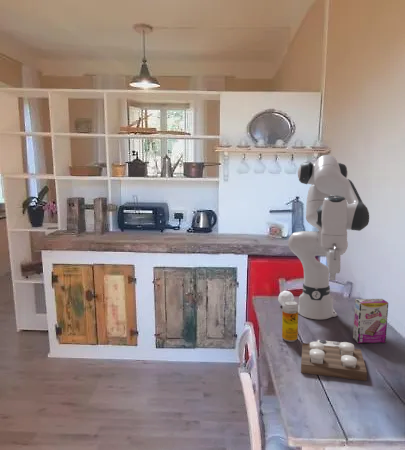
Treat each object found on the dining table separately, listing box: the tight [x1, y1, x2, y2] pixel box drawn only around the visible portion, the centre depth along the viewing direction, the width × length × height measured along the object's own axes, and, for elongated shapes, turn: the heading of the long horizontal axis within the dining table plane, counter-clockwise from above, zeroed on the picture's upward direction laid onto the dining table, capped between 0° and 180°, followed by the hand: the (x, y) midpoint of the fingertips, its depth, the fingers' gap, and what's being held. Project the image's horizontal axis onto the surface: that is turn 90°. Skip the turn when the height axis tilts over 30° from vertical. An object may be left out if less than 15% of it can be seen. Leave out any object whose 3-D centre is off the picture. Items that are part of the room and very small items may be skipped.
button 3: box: [310, 349, 325, 364], centre depth 125 cm, size 5×5×4 cm
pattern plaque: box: [316, 339, 342, 347], centre depth 141 cm, size 7×9×1 cm
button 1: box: [309, 341, 324, 351], centre depth 132 cm, size 5×5×4 cm
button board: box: [300, 342, 368, 382], centre depth 127 cm, size 16×20×3 cm
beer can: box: [281, 300, 299, 343], centre depth 147 cm, size 6×6×15 cm
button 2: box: [339, 341, 355, 356], centre depth 129 cm, size 5×5×4 cm
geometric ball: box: [277, 290, 295, 306], centre depth 185 cm, size 8×8×8 cm
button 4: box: [341, 355, 357, 368], centre depth 122 cm, size 5×5×4 cm
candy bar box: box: [352, 298, 389, 344], centre depth 144 cm, size 11×5×16 cm, turn 92°
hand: (332, 279), depth 134 cm, fingers closed
